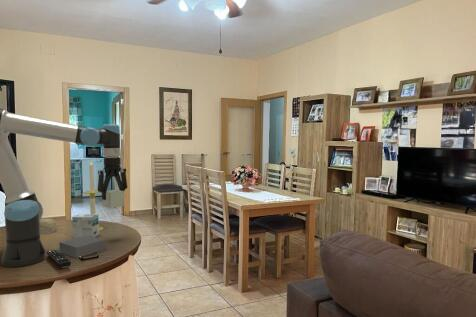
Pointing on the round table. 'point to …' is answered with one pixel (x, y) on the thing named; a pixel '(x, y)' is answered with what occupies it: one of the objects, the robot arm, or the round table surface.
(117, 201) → the green cube
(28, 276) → the round table surface
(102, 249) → the base block
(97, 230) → the light bulb box
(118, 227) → the round table surface
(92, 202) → the candle
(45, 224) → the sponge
